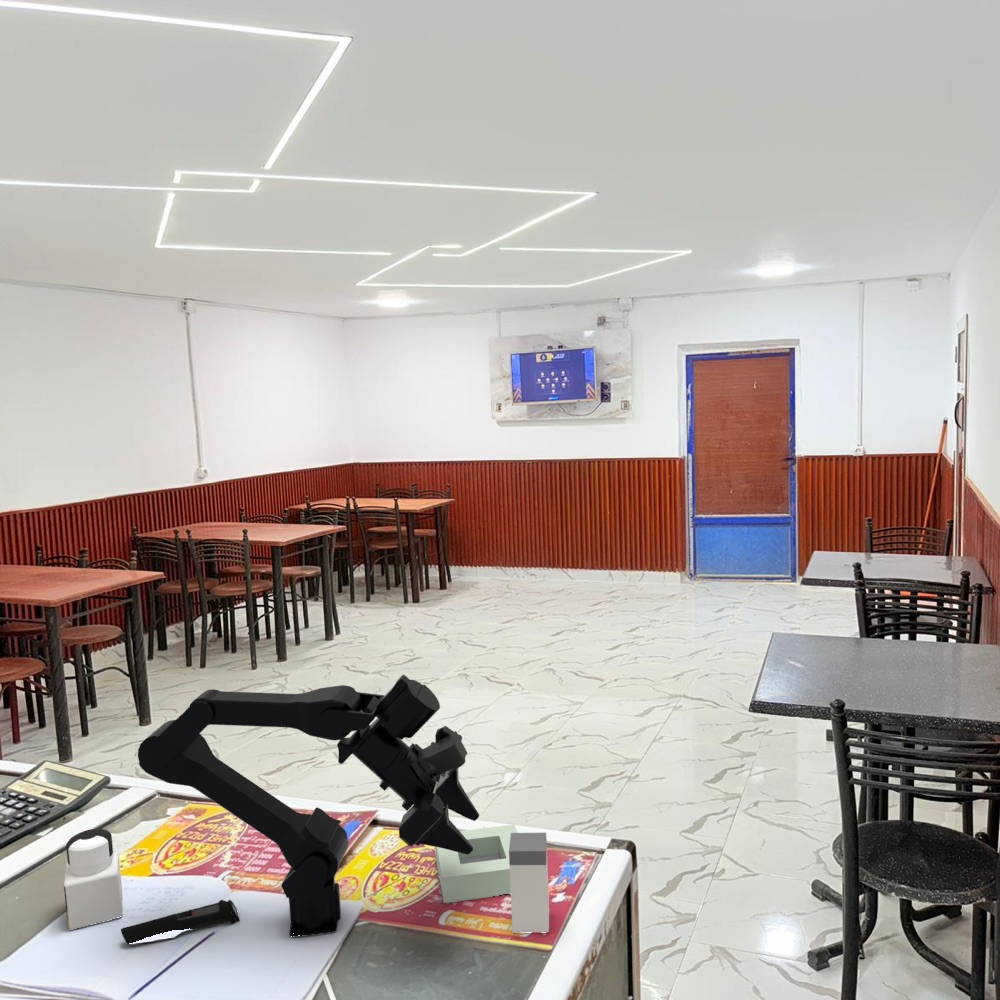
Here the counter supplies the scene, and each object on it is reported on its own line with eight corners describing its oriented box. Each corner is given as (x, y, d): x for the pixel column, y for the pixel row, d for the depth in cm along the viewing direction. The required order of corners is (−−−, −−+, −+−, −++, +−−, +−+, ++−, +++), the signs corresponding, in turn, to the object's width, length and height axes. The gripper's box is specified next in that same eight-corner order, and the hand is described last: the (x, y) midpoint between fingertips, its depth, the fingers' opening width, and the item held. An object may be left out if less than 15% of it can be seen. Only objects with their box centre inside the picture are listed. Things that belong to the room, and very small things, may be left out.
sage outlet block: (443, 903, 128) (442, 877, 128) (435, 857, 141) (434, 833, 141) (531, 891, 130) (530, 866, 130) (515, 847, 143) (514, 824, 143)
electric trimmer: (123, 941, 123) (120, 920, 123) (237, 910, 129) (235, 890, 129) (123, 957, 120) (120, 935, 119) (240, 925, 126) (238, 904, 125)
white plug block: (512, 933, 120) (508, 851, 119) (514, 912, 125) (510, 832, 124) (548, 933, 120) (545, 851, 119) (549, 912, 125) (546, 832, 124)
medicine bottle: (70, 906, 132) (62, 830, 130) (122, 893, 134) (115, 819, 133) (68, 932, 125) (59, 852, 124) (122, 918, 128) (115, 840, 126)
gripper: (419, 746, 111) (510, 828, 111) (438, 695, 129) (516, 766, 130) (361, 806, 112) (451, 887, 113) (389, 747, 131) (466, 817, 131)
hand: (474, 834), depth 122 cm, fingers open, 9 cm apart
